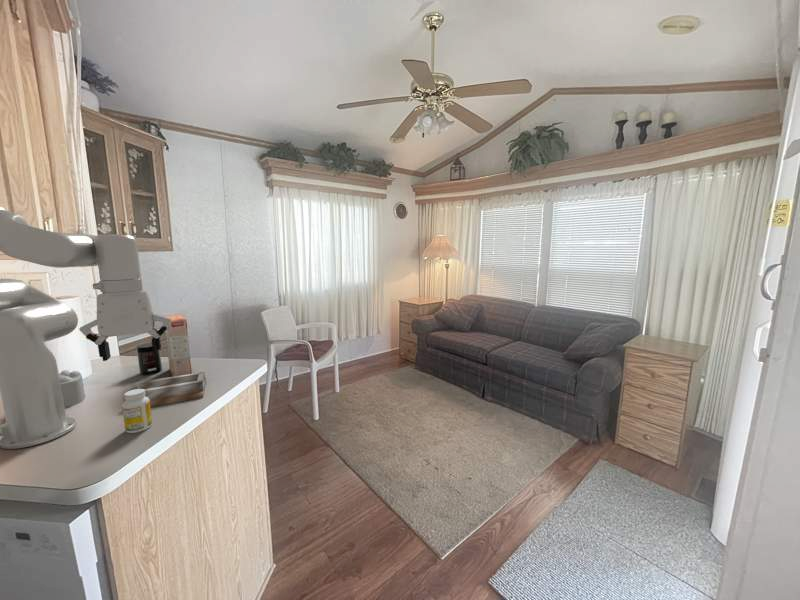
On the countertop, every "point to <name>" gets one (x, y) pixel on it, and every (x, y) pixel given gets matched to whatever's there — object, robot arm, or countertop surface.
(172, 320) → the cracker box
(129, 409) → the supplement bottle
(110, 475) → the countertop surface
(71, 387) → the lumpy-topped squat cylinder
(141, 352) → the supplement container
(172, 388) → the wooden tray
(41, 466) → the countertop surface
